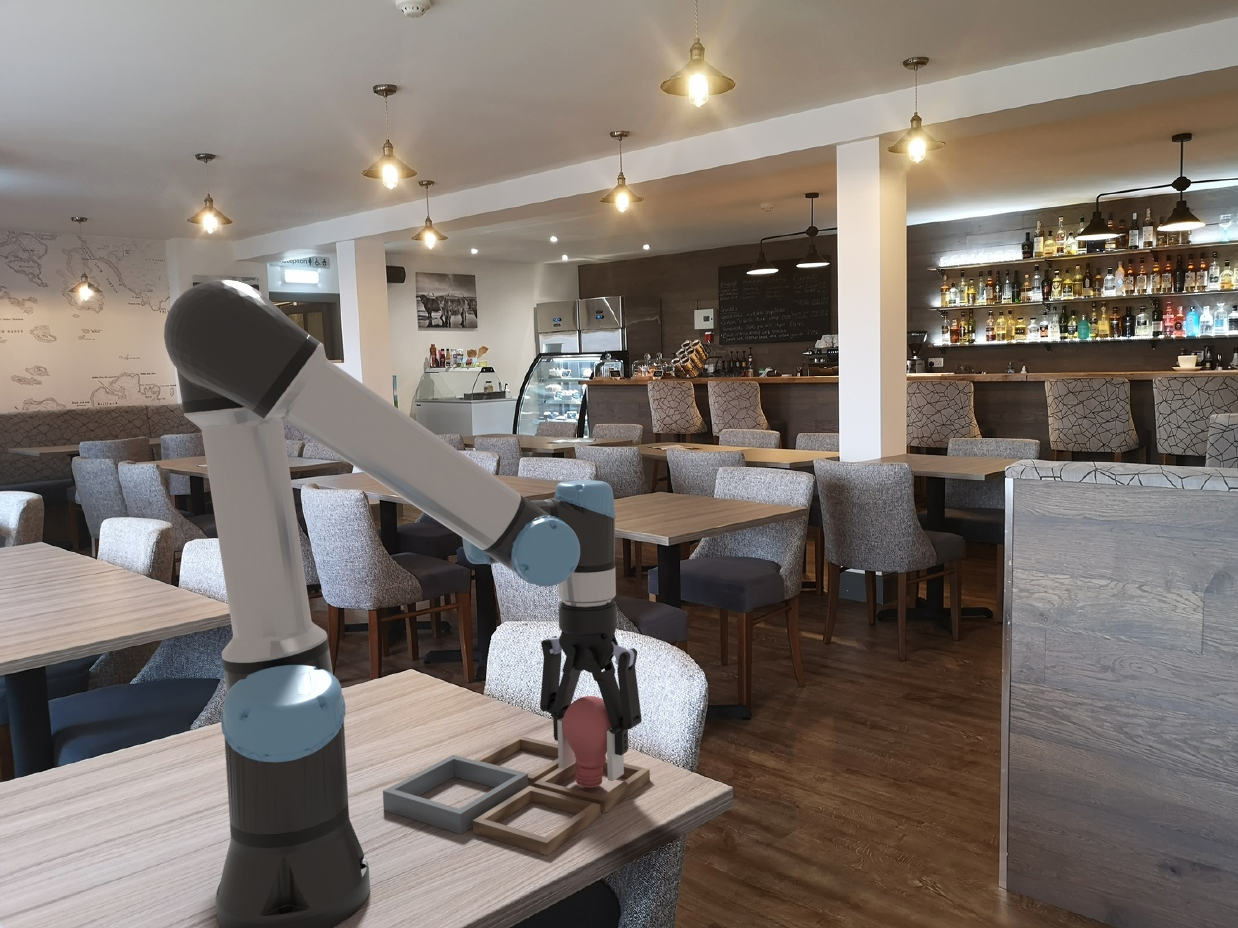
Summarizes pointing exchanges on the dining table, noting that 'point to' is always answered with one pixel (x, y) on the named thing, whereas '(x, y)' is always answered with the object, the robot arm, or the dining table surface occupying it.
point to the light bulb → (587, 738)
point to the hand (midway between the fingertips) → (590, 770)
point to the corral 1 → (457, 820)
